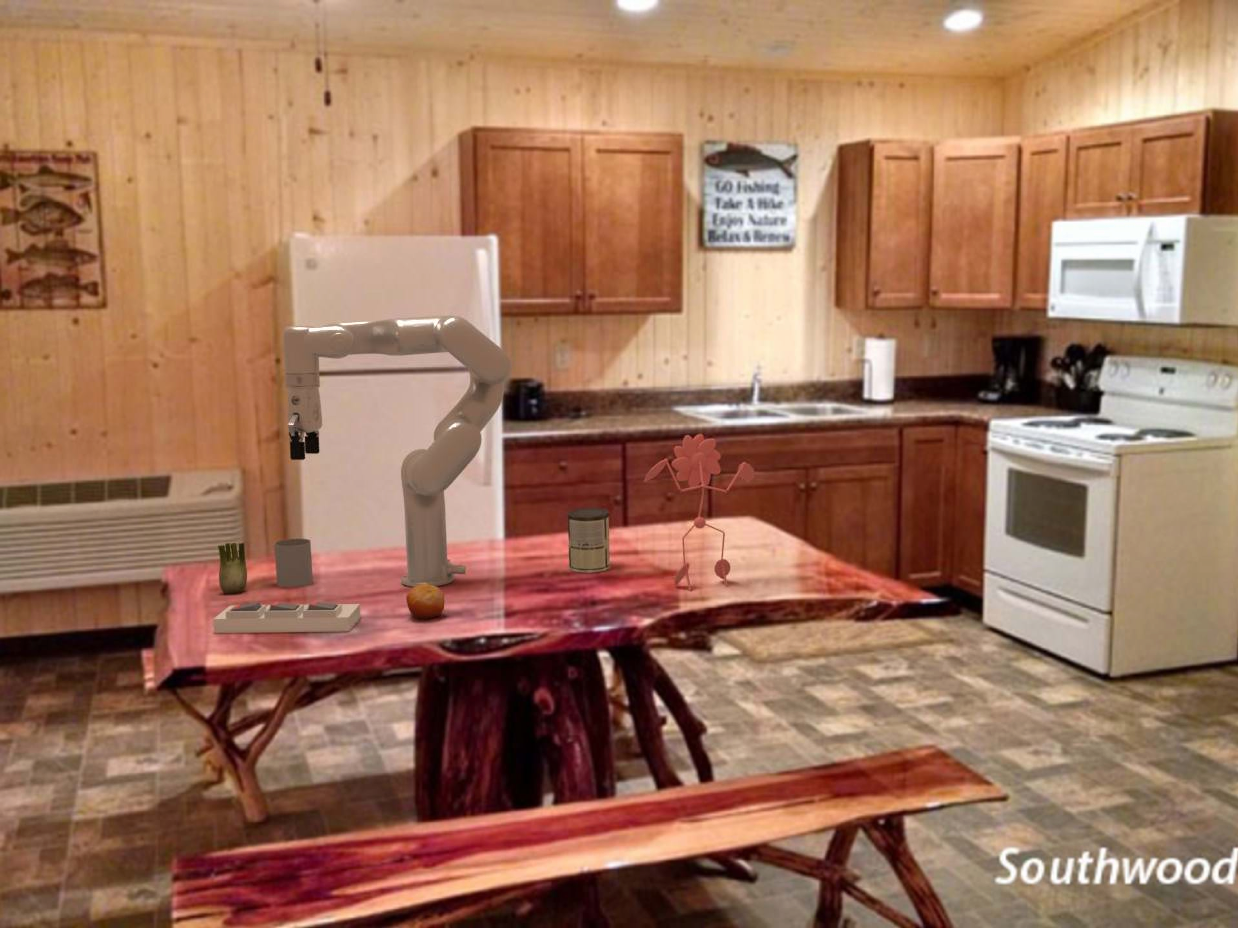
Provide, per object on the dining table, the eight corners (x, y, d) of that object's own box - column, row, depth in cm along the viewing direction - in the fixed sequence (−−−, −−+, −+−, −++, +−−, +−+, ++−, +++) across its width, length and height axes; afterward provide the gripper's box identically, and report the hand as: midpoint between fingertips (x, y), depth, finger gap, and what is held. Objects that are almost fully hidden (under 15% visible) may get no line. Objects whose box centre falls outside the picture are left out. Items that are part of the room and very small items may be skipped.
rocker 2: (336, 609, 249) (336, 603, 249) (332, 614, 246) (332, 608, 246) (312, 606, 249) (313, 600, 249) (308, 610, 246) (308, 604, 246)
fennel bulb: (249, 589, 280) (245, 539, 279) (243, 595, 276) (240, 544, 274) (224, 590, 280) (220, 540, 278) (218, 595, 275) (214, 545, 274)
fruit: (428, 601, 262) (436, 574, 257) (444, 625, 257) (453, 598, 253) (395, 608, 257) (403, 580, 252) (411, 633, 252) (419, 606, 248)
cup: (303, 588, 281) (300, 546, 279) (270, 587, 282) (268, 545, 281) (318, 579, 289) (316, 538, 287) (287, 578, 290) (284, 538, 289)
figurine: (762, 583, 276) (759, 433, 271) (658, 595, 268) (653, 441, 263) (734, 570, 290) (731, 427, 286) (634, 581, 282) (630, 434, 277)
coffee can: (562, 566, 297) (560, 510, 295) (599, 561, 301) (598, 506, 299) (578, 575, 288) (577, 517, 285) (617, 569, 292) (616, 513, 290)
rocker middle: (298, 610, 249) (298, 604, 249) (293, 614, 246) (294, 608, 246) (274, 606, 249) (275, 600, 249) (269, 610, 246) (270, 604, 246)
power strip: (360, 617, 255) (359, 597, 255) (349, 631, 245) (347, 610, 245) (231, 619, 256) (229, 599, 255) (214, 632, 246) (212, 612, 245)
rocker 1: (260, 606, 250) (259, 600, 249) (255, 611, 246) (254, 605, 246) (237, 611, 250) (236, 605, 250) (232, 615, 247) (231, 609, 246)
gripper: (305, 384, 259) (308, 462, 262) (330, 378, 276) (333, 451, 279) (272, 384, 260) (275, 461, 262) (299, 378, 277) (302, 451, 280)
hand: (305, 456), depth 271 cm, fingers open, 9 cm apart
